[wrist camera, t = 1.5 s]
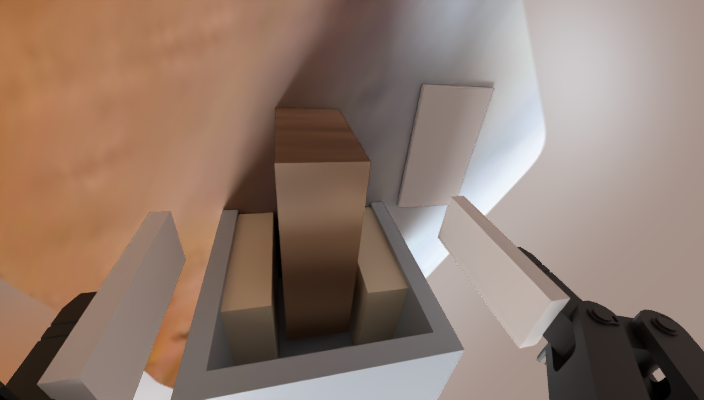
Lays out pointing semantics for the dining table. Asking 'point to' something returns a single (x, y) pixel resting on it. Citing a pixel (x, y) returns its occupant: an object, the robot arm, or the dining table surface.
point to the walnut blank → (318, 217)
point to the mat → (442, 143)
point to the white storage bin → (318, 351)
